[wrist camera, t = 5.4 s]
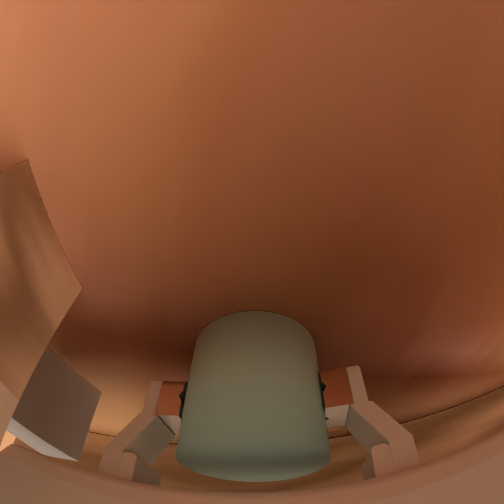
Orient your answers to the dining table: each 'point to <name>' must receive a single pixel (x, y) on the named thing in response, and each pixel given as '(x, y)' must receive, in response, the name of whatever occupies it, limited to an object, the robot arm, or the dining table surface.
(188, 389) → the sage green cylinder
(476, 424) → the orrery frame
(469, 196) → the dining table surface
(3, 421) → the cream white cube
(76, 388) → the slate block
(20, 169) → the tower base
